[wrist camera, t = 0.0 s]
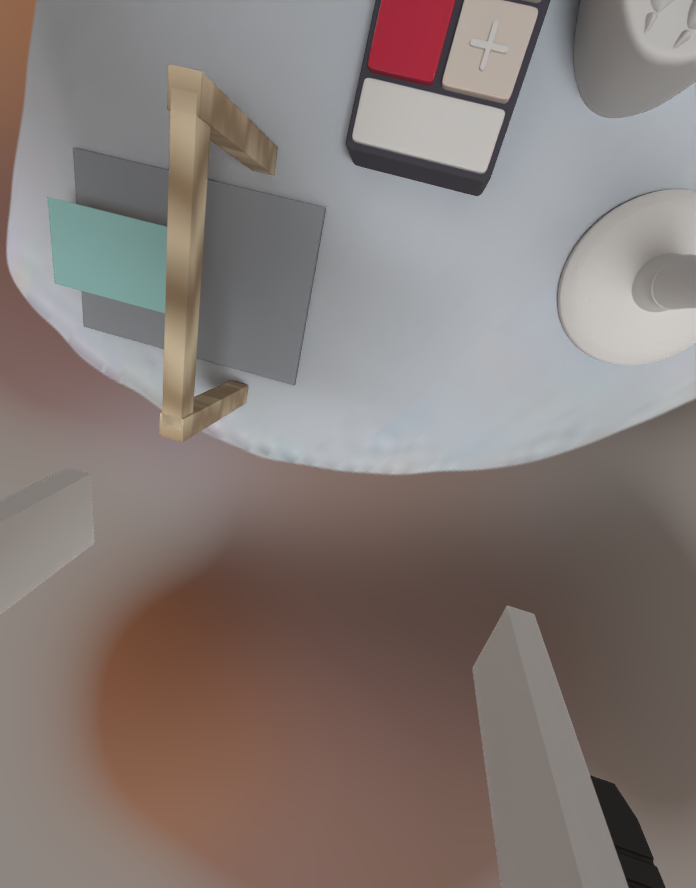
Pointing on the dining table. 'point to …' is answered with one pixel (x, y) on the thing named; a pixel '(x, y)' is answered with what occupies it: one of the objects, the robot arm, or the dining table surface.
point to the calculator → (441, 87)
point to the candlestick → (634, 281)
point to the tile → (108, 254)
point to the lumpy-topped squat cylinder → (633, 53)
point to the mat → (217, 266)
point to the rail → (197, 239)
